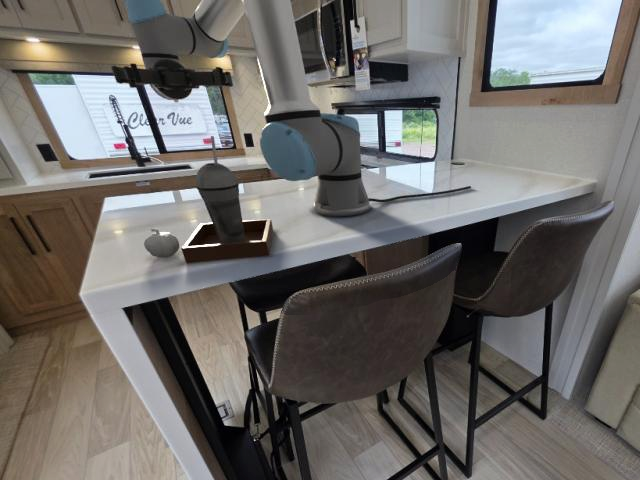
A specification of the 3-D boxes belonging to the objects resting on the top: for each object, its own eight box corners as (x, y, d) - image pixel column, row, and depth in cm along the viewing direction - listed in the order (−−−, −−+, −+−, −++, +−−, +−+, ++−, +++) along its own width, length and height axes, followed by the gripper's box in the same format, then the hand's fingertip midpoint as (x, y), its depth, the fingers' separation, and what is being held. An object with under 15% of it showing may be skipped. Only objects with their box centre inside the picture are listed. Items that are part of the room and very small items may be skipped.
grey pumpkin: (148, 253, 65) (138, 228, 62) (180, 247, 67) (171, 222, 65) (151, 264, 60) (139, 237, 58) (184, 257, 63) (175, 231, 61)
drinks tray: (273, 231, 76) (270, 218, 75) (269, 255, 64) (266, 241, 63) (204, 236, 73) (200, 223, 71) (186, 263, 61) (180, 248, 59)
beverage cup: (213, 240, 70) (181, 135, 59) (250, 235, 73) (226, 134, 62) (214, 252, 64) (179, 138, 54) (254, 246, 67) (228, 137, 57)
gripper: (233, 100, 83) (256, 99, 68) (109, 99, 70) (104, 98, 56) (225, 63, 79) (248, 54, 64) (93, 55, 67) (83, 42, 52)
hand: (181, 74), depth 60 cm, fingers open, 13 cm apart
